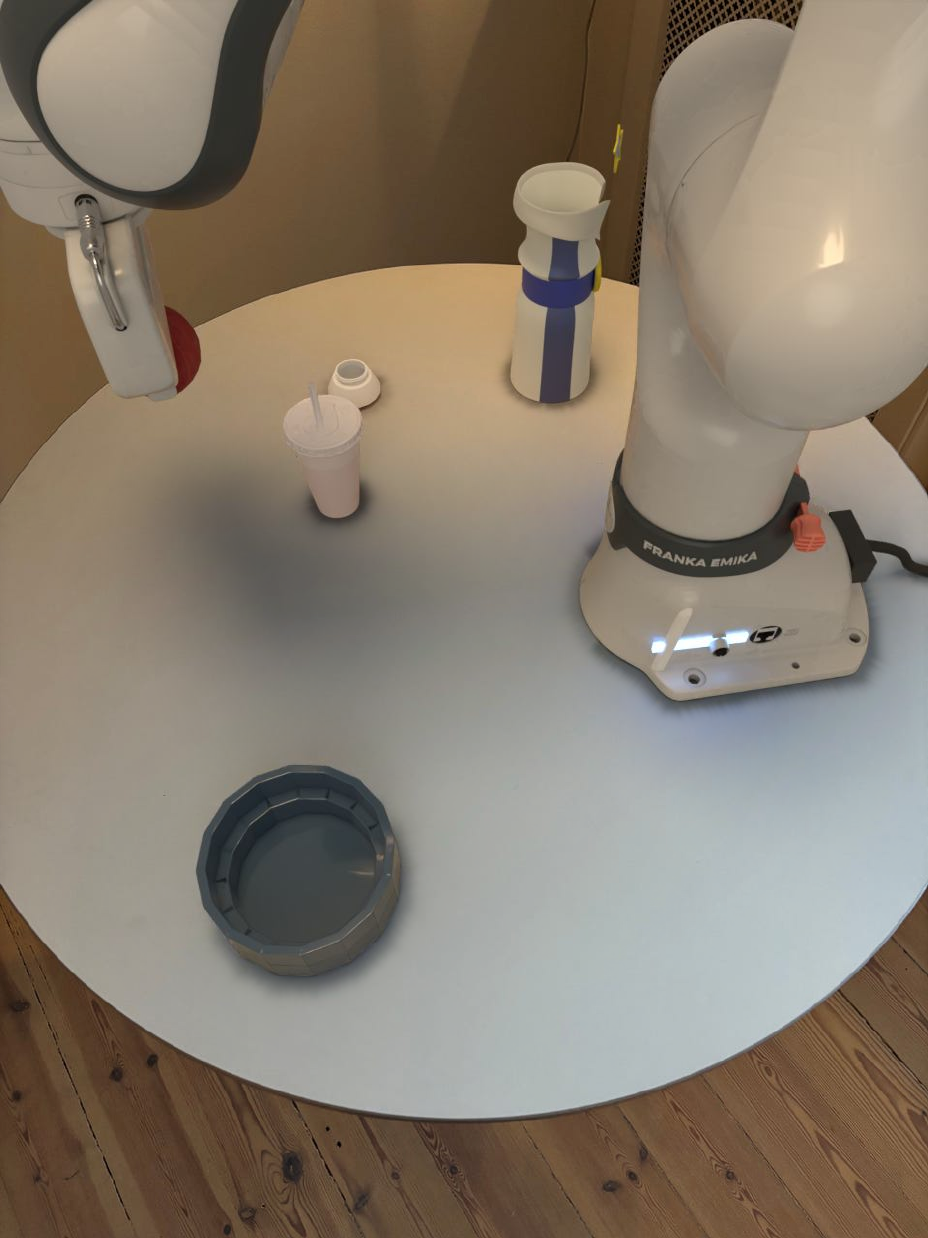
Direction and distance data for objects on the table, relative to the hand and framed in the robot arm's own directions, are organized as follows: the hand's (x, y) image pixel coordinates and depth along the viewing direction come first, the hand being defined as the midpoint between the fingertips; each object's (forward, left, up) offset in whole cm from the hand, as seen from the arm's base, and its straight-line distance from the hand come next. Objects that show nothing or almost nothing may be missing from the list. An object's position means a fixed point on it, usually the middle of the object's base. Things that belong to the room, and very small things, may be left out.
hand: (157, 357), depth 61 cm
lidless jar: (-9, -20, -21) cm, 30 cm away
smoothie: (-9, -6, -21) cm, 23 cm away
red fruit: (0, 0, -3) cm, 3 cm away
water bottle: (-28, -23, -21) cm, 41 cm away
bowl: (-11, +28, -21) cm, 37 cm away
